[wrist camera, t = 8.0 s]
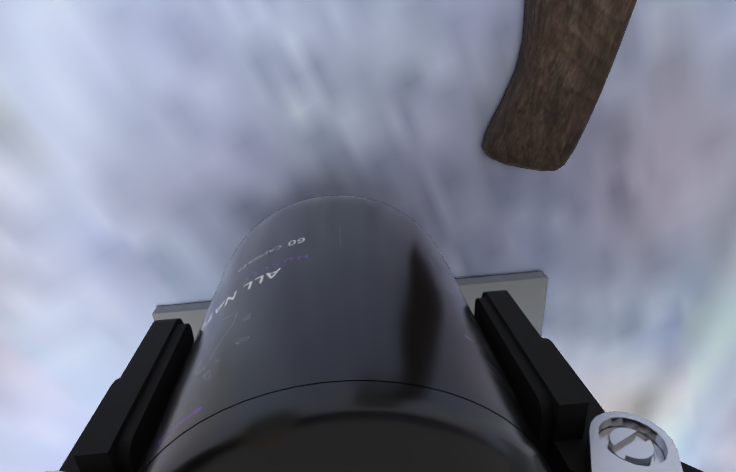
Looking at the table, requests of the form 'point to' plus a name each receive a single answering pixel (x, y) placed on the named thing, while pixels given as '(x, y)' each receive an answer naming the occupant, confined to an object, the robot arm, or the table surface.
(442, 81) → the table surface
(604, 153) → the table surface
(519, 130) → the cleaver
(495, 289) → the slate mat
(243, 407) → the supplement bottle
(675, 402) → the table surface
